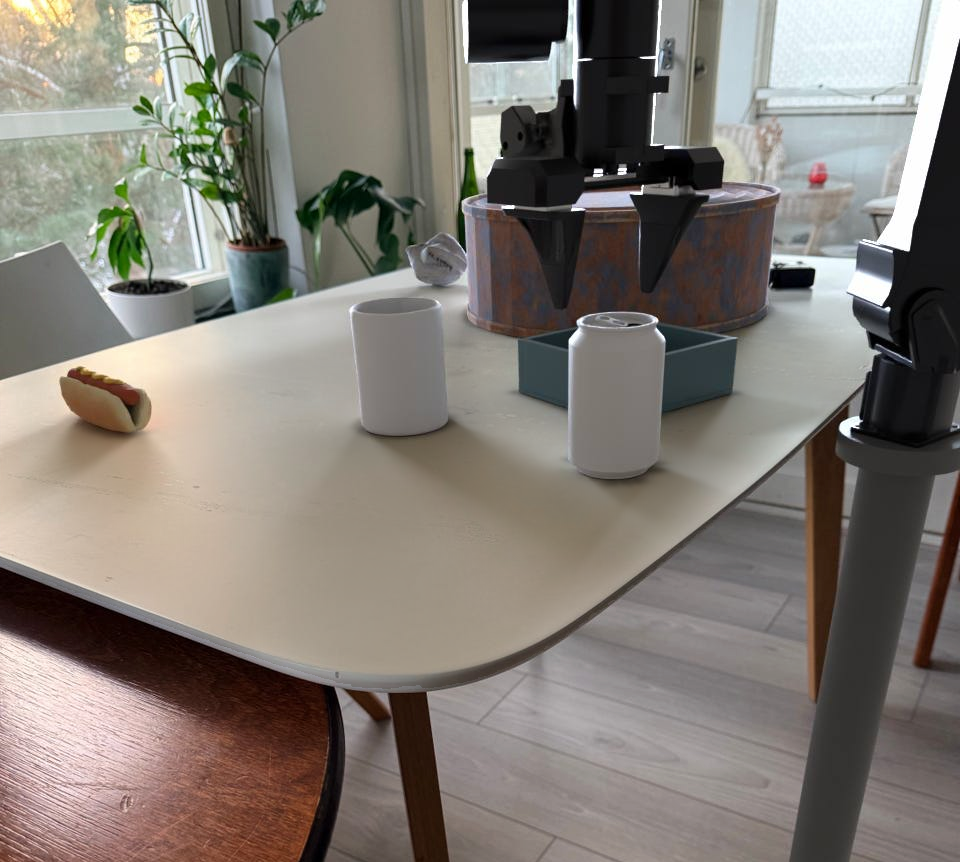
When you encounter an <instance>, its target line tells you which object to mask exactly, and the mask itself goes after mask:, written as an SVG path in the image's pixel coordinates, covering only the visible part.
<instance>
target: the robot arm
mask: <svg viewBox="0 0 960 862" xmlns="http://www.w3.org/2000/svg"><path fill="white" fill-rule="evenodd" d="M569 1H570V0H463V2H462V3H461V4H462V9H461V10H462V33H463V34H462V35H463V50H464V61H465V64H466V65H470V64H471V65H472V64H473V65H475V64H507V63H508V64H509V63H545V62H547V63H548V61H549V60H550V57H551V52H552V45H553V43H555V44H556V45H559V44H565V42H566V39H567V35H568V26H569V9H570V8H569V7H570V4H569V3H570V2H569ZM573 3H574V4H573V5H574V6H573V7H574V8H573V10H574V11H573V49H572V50H573V51H572V53H573V54H572V60H573V61H572V78H565V79H563V78H562V79H560V80H559V81H560V85H559V86H558V87H557V99H556V106H555V107H554V108H552V109H551V110H549V111H538V112H537V113H536V111H535V110H534V108H533V106H531V105H529V104H527V105H524V104H523V105H510V106H509V107H507V108H506V109H505V110H503V111H501V113H500V130H499V142H500V146H501V151H502V155H503V157H497V158H495V159H494V161H493V163H492V165H491V166H490V168H489V170H488V172H487V175H486V193H487V203H491V204H502V205H513V206H508V207H502V211H503V213H504V215H505V216H510V217H514V218H515V219H516V220H517V221H518V222H519V223H520V224H521V226H522V227H523V228H524V229H525V230H526V232H527V233H528V235H529V237H530V239H531V242H532V244H533V246H534V249H535V251H536V254H537V257H538V260H539V262H540V266H541V269H542V272H543V275H544V278H545V281H546V284H547V288H548V291H549V294H550V297H551V300H552V303H553V306H554V308H555V309H558V310H566V309H567V307H568V304H569V300H570V296H571V292H572V288H573V282H574V277H575V271H576V265H577V259H578V254H579V248H580V242H581V237H582V231H583V225H584V220H585V214H586V209H576V208H572V205H573V204H576V203H577V201H578V200H579V198H580V196H581V195H582V193H583V192H584V191H592V190H602V189H612V188H622V187H631V186H638V187H642V192H640V193H630V194H629V195H630V198H631V200H632V202H633V204H634V206H635V208H636V210H637V212H638V214H639V217H640V249H639V280H640V291H641V292H642V293H646V294H651V293H653V292H654V290H655V288H656V286H657V284H658V282H659V280H660V279H661V277H662V275H663V273H664V271H665V269H666V267H667V265H668V263H669V261H670V259H671V257H672V256H673V254H674V252H675V250H676V248H677V246H678V244H679V242H680V241H681V239H682V237H683V235H684V234H685V232H686V230H687V229H688V227H689V225H690V224H691V222H692V220H693V219H694V217H695V216H696V214H697V212H698V211H699V209H700V207H701V206H702V204H703V203H707V202H709V199H710V195H709V194H696V190H698V191H700V190H709V189H718V188H722V181H724V180H723V179H724V170H725V159H724V158H723V156H722V154H721V152H720V151H719V149H718V147H717V146H694V145H691V146H690V145H689V146H688V145H667V146H666V145H665V144H664V143H663V144H660V143H659V144H657V143H653V142H654V141H653V138H654V125H655V124H654V122H655V108H656V107H655V106H656V94H669V90H670V77H671V76H670V75H658V57H659V46H660V45H659V42H660V29H661V28H660V26H661V11H662V0H574V2H573ZM936 25H937V26H936V29H935V33H934V38H933V43H932V47H931V51H930V55H929V60H928V64H927V69H926V73H925V79H924V82H923V85H922V86H923V87H922V90H921V95H920V99H919V104H918V109H917V112H916V113H917V114H916V115H915V116H916V117H915V121H914V126H913V130H912V134H911V137H910V143H909V147H908V150H907V151H908V152H907V156H906V160H905V165H904V170H903V174H902V177H901V182H900V185H899V191H898V195H897V199H896V204H895V208H894V212H893V215H892V217H891V219H890V221H889V222H888V224H887V225H886V227H885V228H884V229H883V232H882V233H881V234H880V236H879V237H878V239H877V240H876V241H871V240H867V239H861V240H860V241H859V242H858V246H857V248H856V260H855V270H854V274H853V276H852V279H851V282H850V284H849V285H848V287H847V289H846V294H847V295H850V296H852V303H851V305H852V306H851V309H852V314H853V317H854V318H855V319H856V321H857V322H858V324H859V325H860V326H861V328H863V329H865V333H866V338H867V343H868V348H869V349H870V350H873V351H877V352H879V353H877V354H874V355H873V359H872V363H871V370H868V372H866V373H865V377H864V384H863V390H862V396H861V401H860V407H859V413H858V416H859V419H860V420H862V421H861V422H858V423H855V424H853V425H851V428H850V431H852V432H855V433H859V434H863V435H866V436H870V437H874V438H878V439H881V440H885V441H889V442H893V443H897V444H900V445H904V446H908V447H912V448H922V447H924V446H927V445H930V444H932V443H935V442H937V441H940V440H943V439H945V438H948V437H950V436H953V435H956V434H958V433H960V426H957V425H953V424H952V422H954V418H955V413H956V408H957V404H958V399H959V395H960V0H942V4H941V7H940V13H939V16H938V21H937V24H936ZM620 165H625V168H620ZM595 170H596V171H595Z"/></svg>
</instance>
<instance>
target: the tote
mask: <svg viewBox="0 0 960 862" xmlns="http://www.w3.org/2000/svg"><path fill="white" fill-rule="evenodd" d="M578 328H579V326H578V327H574V328H569V329H564V330H559V331H554V332H550V333H545V334H540V335H535V336H530V337H526V338H523V337H520V338H517V366H518V369H517V370H518V371H517V372H518V393H520V394H523V395H527V396H530V397H533V398H536V399H538V400H542V401H545V402H547V403H550V404H551V403H552V404H554V405H557V406H560V407H563V408H566V409H568V389H569V339H570V338H571V337H572V335H573V334H574V333H575V332H576V331H577V330H578ZM656 328H657V329H658V330H659V332H660V333H661V334H662V335H663V336H664V338H665V341H666V343H665V359H664V376H663V393H662V410H661V414H663V413H667V412H670V411H674V410H678V409H681V408H684V407H687V406H691V405H695V404H699V403H702V402H706V401H708V400H713V399H716V398H719V397H722V396H723V397H724V396H726V395H730V394H733V390H734V379H735V369H736V361H737V347H738V340H739V338H738V337H735V336H730V335H725V334H721V333H711V332H706V331H701V330H696V329H691V328H686V327H681V326H676V325H671V324H666V323H661V322H658V324H656Z"/></svg>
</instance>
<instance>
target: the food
mask: <svg viewBox="0 0 960 862" xmlns="http://www.w3.org/2000/svg"><path fill="white" fill-rule="evenodd" d="M66 374H67V375H65V376H64V375H61V376H59V381H58V382H59V386H60V392H61V393H60V394H61V396H62V398H63V400H64V402H65V404H66V406H67V407H68V409H69V410H70V412H72V413H73V414H74V415H76V416H78V417H79V418H81V419H83V420H84V421H86V422H88V423H90V424H92V425H95V426H98V427H99V428H100V427H101V428H103V429H105V430H109V431H113V432H121V433H127V434H128V433H132V432H134V431H141V430H144V429H145V428H146V427H147V426H148V424H149V422H150V420H151V418H152V411H153V408H152V407H153V406H152V401H151V398H150V396H149V394H148V392H147V391H146V390H145V389H143V388H139V387H136V386H134V385H132V384H129V383H127V382H124V381H123V380H121V379H118V378H114V377H111V376H109V375H107V374H102V373H99V372H98V371H94V370H90V369H89V368H88V367H85V366H80V365H79V366H76V367H73V368H70V369H69V370H68V371H67V373H66Z"/></svg>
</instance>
